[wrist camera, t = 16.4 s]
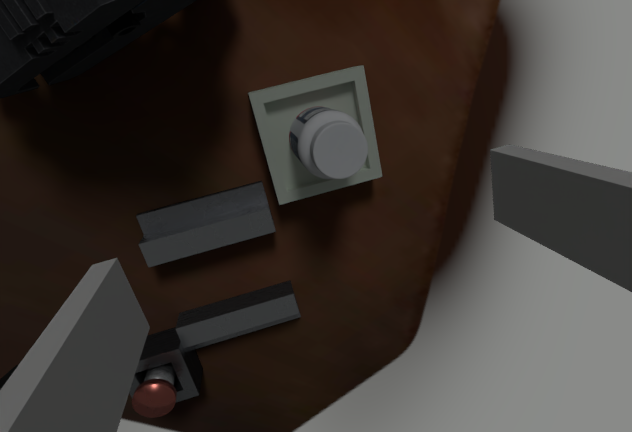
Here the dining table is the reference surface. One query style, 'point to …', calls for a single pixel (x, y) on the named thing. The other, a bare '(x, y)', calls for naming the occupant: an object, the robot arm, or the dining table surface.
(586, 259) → the robot arm
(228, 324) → the socket
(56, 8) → the tool
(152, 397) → the plunger
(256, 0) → the dining table surface
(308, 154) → the pill bottle
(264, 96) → the tray
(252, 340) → the dining table surface
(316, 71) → the dining table surface
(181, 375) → the block
